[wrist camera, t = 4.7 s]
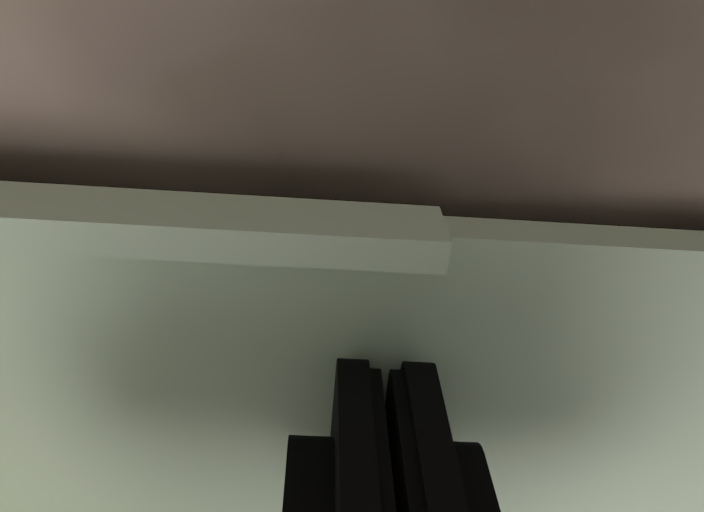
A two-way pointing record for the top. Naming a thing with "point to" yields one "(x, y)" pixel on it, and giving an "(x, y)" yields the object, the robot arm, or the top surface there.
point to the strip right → (336, 346)
